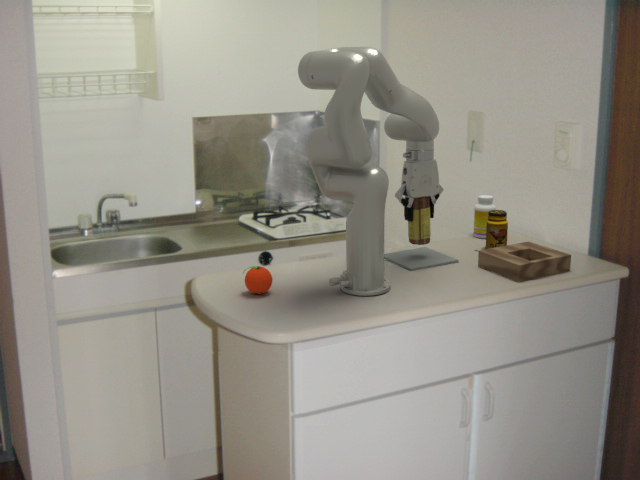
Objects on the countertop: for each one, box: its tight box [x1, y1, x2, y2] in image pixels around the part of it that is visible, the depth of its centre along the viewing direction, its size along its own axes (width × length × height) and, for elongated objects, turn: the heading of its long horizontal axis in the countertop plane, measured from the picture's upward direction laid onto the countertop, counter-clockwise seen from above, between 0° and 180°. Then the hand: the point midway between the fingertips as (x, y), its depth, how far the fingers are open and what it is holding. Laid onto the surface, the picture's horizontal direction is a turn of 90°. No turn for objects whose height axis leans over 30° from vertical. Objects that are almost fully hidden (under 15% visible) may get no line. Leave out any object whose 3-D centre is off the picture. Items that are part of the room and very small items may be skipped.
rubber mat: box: [384, 246, 459, 272], centre depth 213 cm, size 16×16×1 cm
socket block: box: [477, 240, 572, 283], centre depth 202 cm, size 18×16×4 cm
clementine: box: [242, 265, 273, 294], centre depth 187 cm, size 8×7×7 cm
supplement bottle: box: [473, 194, 497, 239], centre depth 234 cm, size 7×7×13 cm
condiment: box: [475, 209, 509, 252], centre depth 219 cm, size 7×8×12 cm
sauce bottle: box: [407, 196, 432, 246], centre depth 210 cm, size 7×6×20 cm
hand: (419, 218), depth 210 cm, fingers closed on sauce bottle, 6 cm apart
